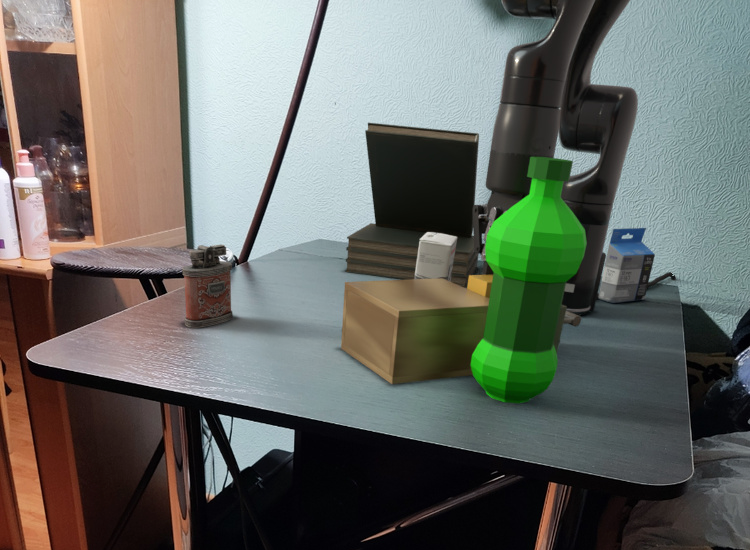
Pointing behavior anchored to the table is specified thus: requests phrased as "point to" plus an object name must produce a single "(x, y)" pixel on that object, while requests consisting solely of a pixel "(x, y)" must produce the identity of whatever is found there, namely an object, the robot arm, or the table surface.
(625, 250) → the label tape box
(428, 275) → the ink box
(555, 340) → the wooden drawer
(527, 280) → the plastic bottle
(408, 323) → the tan rectangular box
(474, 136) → the stack of books
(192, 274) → the lighter
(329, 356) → the table surface
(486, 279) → the yellow block
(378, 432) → the table surface
